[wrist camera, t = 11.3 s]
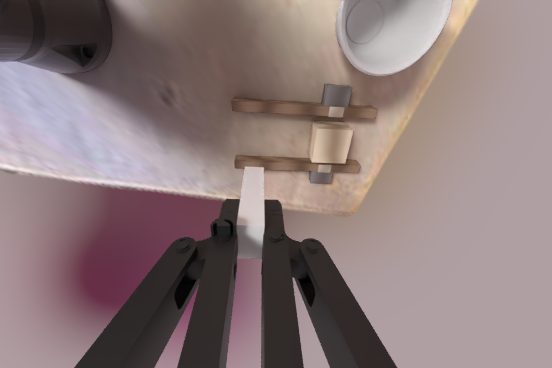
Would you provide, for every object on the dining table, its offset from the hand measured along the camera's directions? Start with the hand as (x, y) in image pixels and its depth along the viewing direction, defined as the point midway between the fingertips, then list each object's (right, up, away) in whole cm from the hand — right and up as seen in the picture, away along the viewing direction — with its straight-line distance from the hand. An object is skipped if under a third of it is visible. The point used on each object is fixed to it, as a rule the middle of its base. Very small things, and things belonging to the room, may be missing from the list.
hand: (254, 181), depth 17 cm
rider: (+11, +9, +23) cm, 27 cm away
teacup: (+15, +24, +13) cm, 31 cm away
